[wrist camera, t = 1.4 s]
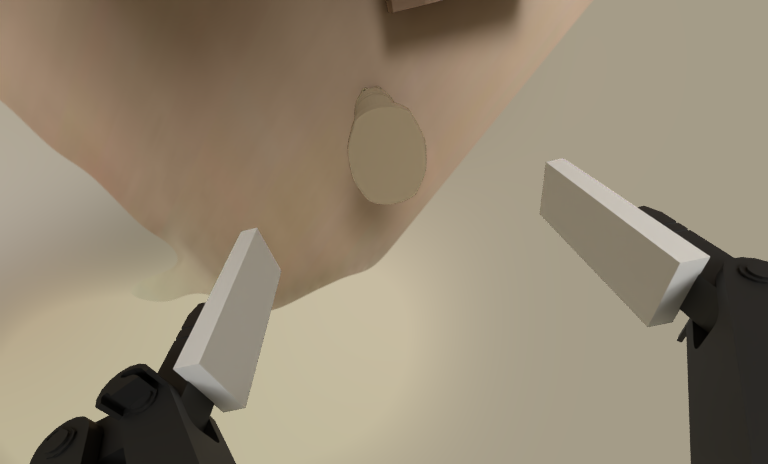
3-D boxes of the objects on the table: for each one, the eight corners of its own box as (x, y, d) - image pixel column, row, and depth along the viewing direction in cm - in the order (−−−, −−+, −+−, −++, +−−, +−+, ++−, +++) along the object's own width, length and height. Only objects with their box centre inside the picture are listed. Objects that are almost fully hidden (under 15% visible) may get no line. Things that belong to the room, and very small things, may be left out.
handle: (392, 63, 29) (424, 101, 17) (398, 130, 33) (427, 199, 21) (343, 70, 29) (339, 113, 17) (354, 136, 33) (358, 209, 21)
